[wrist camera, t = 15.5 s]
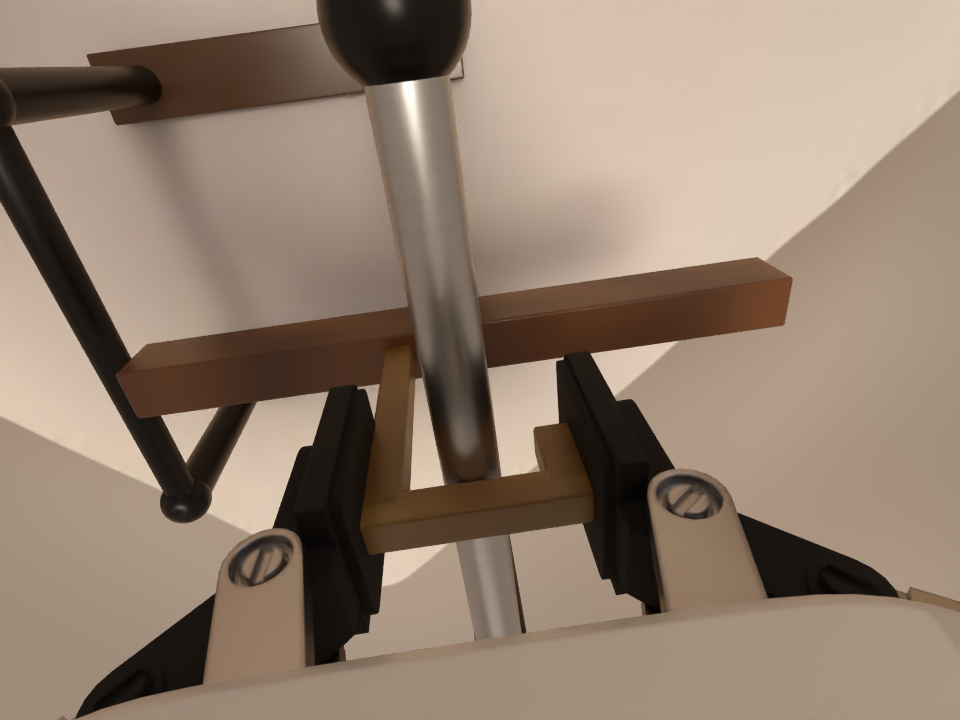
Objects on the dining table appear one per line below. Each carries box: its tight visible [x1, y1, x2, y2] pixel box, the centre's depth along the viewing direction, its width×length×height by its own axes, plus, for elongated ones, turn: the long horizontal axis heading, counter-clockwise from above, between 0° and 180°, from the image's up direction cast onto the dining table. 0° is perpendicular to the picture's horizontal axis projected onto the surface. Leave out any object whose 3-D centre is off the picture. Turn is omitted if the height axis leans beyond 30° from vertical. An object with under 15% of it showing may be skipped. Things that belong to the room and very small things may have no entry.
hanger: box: [116, 257, 792, 555], centre depth 14 cm, size 20×2×9 cm, turn 97°
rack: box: [0, 0, 526, 641], centre depth 20 cm, size 17×19×23 cm
